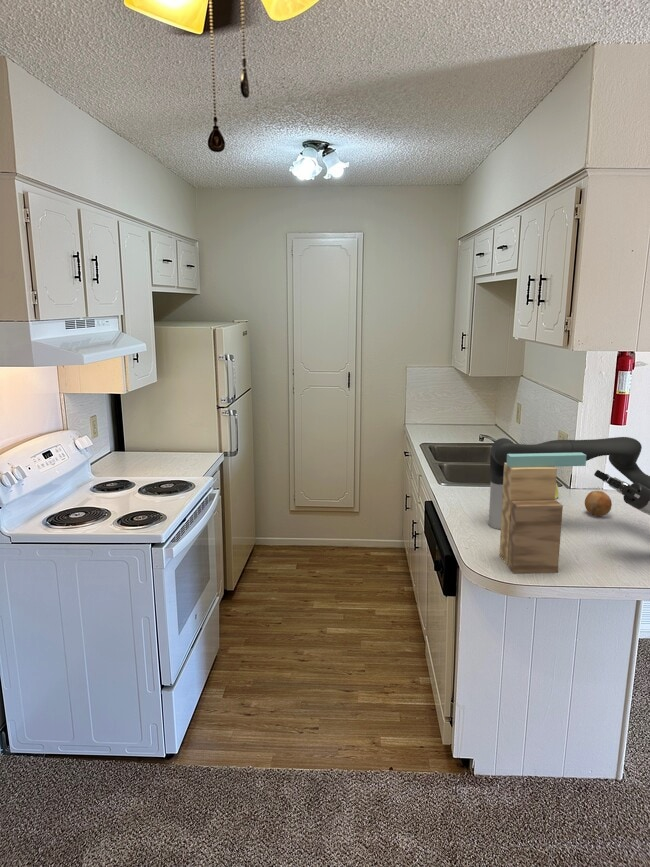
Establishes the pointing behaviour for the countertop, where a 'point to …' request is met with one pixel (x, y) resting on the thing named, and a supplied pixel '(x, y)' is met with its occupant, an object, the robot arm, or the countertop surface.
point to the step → (535, 536)
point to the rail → (546, 459)
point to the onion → (598, 503)
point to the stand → (523, 494)
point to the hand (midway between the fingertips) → (602, 476)
